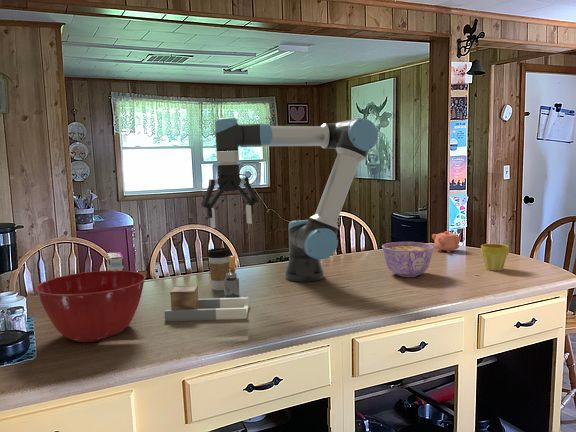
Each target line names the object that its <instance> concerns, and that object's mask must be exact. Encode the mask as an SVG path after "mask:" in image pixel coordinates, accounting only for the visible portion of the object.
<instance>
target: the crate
mask: <svg viewBox="0 0 576 432" xmlns="http://www.w3.org/2000/svg"><path fill="white" fill-rule="evenodd" d="M169 296H170V305H171V306H170V307H171V308H170V310H183V309H199V303H198V299H199V284H196V285H195V284H194V285H193V284H189V285H188V284H187V285H174V287H173V288H172V289H171V291H170V292H169Z"/></svg>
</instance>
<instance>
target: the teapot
mask: <svg viewBox="0 0 576 432" xmlns="http://www.w3.org/2000/svg"><path fill="white" fill-rule="evenodd" d="M431 237H432V240H434V244H433V245H434V249H435V250H437V252H440V253H441V252H443V251H446V253H448V254H452V252H456V250H457V249H459V248H460V245H459V243H460V241H461V240H460V239H461V238H460V236H459V235H458V234H457V233H452V232H451V233H450V231H448V230H447V231H444V232H440V233H437V234H436V233H433V234H431Z"/></svg>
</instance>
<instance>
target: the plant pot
mask: <svg viewBox="0 0 576 432" xmlns="http://www.w3.org/2000/svg"><path fill="white" fill-rule="evenodd" d="M509 247H510V246H508V244H501V243H484V244H481V245H480V253H481V254H482V258H483V263H484V267H485V268H484V269H486V270H487V271H492V272H493V271H495V272H499V271H503V270H504V267H505V264H506V259H507V256H508V255H509V251H510V250H509V249H510V248H509Z"/></svg>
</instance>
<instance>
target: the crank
mask: <svg viewBox="0 0 576 432" xmlns="http://www.w3.org/2000/svg"><path fill="white" fill-rule="evenodd" d="M229 265H230V266H229V273H226V279H227V280H234V279H237V278H238V277H237V272H236V256H235V255H230V256H229Z"/></svg>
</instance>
